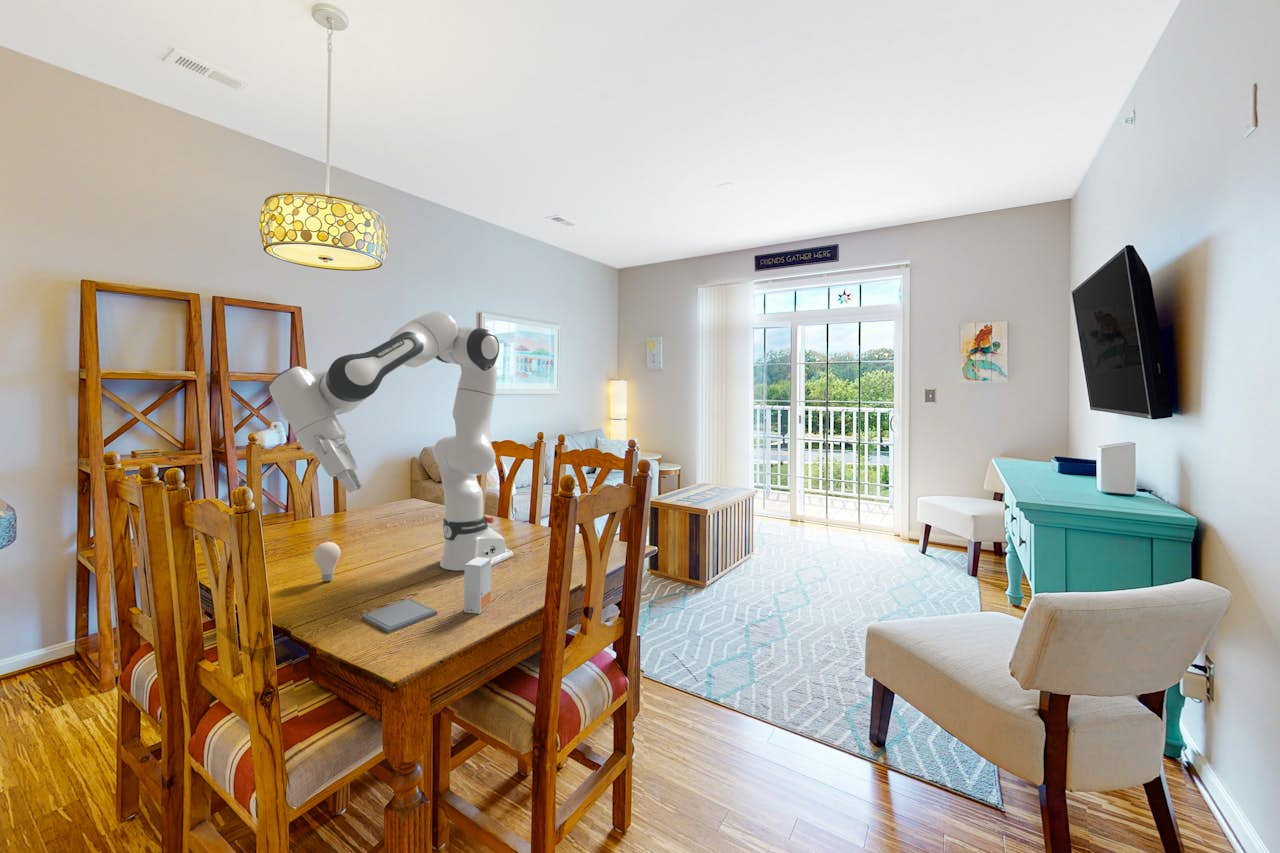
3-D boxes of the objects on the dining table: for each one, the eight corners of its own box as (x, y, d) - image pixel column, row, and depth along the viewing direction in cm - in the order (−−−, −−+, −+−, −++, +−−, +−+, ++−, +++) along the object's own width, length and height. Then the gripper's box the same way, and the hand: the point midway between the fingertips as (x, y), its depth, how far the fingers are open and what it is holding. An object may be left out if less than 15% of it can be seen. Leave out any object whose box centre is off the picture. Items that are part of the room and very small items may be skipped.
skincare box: (480, 614, 125) (479, 566, 125) (463, 612, 126) (463, 564, 125) (492, 604, 131) (491, 557, 130) (476, 602, 132) (476, 556, 131)
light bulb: (321, 577, 147) (320, 538, 147) (346, 576, 148) (345, 538, 147) (308, 586, 141) (307, 546, 140) (334, 585, 141) (333, 546, 141)
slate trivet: (409, 601, 132) (409, 598, 132) (437, 614, 125) (437, 610, 125) (361, 618, 122) (361, 614, 122) (388, 633, 115) (388, 629, 115)
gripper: (328, 426, 108) (364, 484, 110) (343, 432, 127) (374, 481, 129) (297, 442, 106) (334, 500, 107) (317, 445, 124) (348, 495, 126)
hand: (356, 490), depth 118 cm, fingers open, 8 cm apart
